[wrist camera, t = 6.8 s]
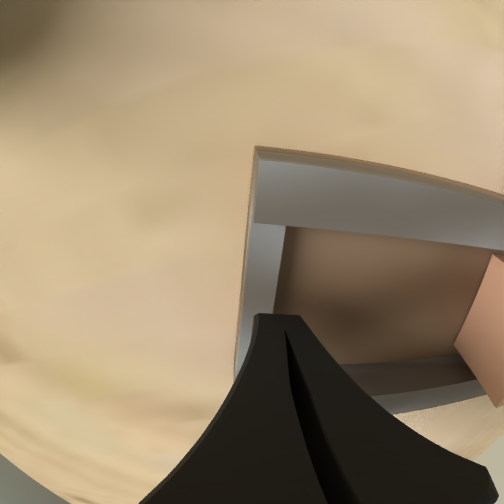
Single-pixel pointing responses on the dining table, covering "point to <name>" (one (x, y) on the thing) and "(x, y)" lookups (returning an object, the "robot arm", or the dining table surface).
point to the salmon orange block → (486, 333)
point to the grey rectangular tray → (370, 268)
